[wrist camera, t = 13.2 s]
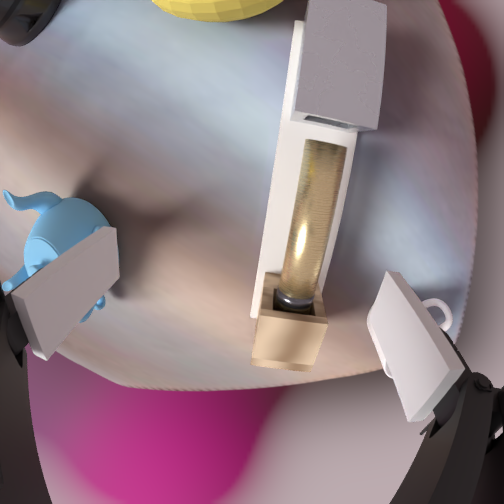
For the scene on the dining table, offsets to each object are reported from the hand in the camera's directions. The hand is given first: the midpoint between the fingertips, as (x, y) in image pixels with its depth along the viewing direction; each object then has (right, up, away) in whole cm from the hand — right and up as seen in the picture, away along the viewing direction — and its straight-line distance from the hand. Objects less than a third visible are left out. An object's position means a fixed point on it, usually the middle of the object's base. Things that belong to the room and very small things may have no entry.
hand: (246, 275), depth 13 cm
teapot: (-26, +3, +25) cm, 37 cm away
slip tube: (+6, +3, +17) cm, 18 cm away
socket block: (+5, -5, +25) cm, 26 cm away
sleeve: (+9, +21, +14) cm, 27 cm away
